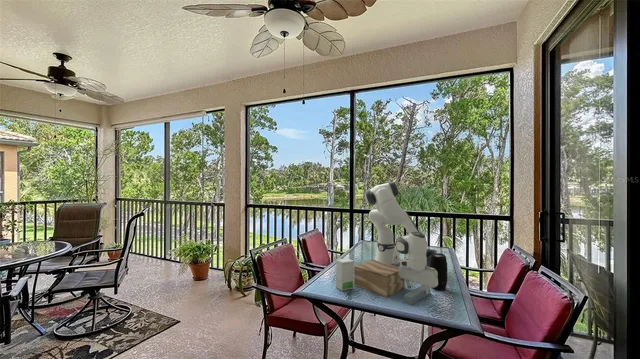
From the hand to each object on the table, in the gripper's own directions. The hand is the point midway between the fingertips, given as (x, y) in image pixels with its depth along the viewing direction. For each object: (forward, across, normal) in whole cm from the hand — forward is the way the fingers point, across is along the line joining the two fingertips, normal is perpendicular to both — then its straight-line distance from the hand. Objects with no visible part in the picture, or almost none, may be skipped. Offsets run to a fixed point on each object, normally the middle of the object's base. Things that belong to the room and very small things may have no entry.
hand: (417, 290), depth 140 cm
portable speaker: (+4, -2, -20) cm, 21 cm away
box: (+4, +22, +3) cm, 22 cm away
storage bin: (+4, +16, -36) cm, 40 cm away
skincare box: (+4, +34, +19) cm, 39 cm away
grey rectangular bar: (+4, 0, 0) cm, 4 cm away
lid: (-7, +22, +3) cm, 23 cm away
